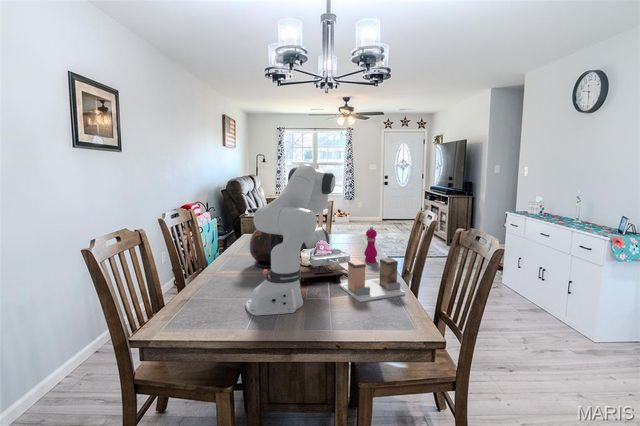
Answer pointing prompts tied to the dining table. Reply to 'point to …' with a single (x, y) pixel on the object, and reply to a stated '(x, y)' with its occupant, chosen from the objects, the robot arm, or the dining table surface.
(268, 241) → the amphora vase
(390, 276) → the walnut plug
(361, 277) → the terracotta plug
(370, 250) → the pepper mill
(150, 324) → the dining table surface
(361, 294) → the plate
